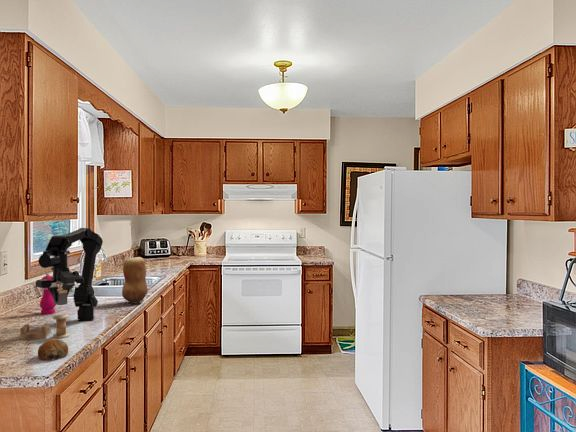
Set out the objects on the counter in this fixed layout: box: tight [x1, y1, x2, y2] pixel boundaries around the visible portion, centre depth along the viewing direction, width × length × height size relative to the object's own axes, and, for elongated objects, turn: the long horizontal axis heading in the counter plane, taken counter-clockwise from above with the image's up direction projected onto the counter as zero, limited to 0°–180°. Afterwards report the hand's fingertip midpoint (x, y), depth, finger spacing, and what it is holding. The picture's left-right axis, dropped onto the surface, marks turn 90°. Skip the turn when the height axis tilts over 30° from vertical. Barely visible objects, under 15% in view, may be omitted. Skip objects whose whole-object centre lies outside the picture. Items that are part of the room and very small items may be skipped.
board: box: [20, 322, 52, 341], centre depth 209 cm, size 9×11×4 cm
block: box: [54, 288, 68, 306], centre depth 219 cm, size 4×4×6 cm
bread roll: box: [37, 338, 69, 361], centre depth 181 cm, size 10×10×8 cm
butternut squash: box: [121, 256, 149, 304], centre depth 277 cm, size 14×13×25 cm
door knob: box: [52, 313, 70, 339], centre depth 207 cm, size 6×6×8 cm
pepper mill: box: [39, 272, 57, 316], centre depth 251 cm, size 7×7×20 cm
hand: (60, 301), depth 219 cm, fingers closed on block, 3 cm apart
